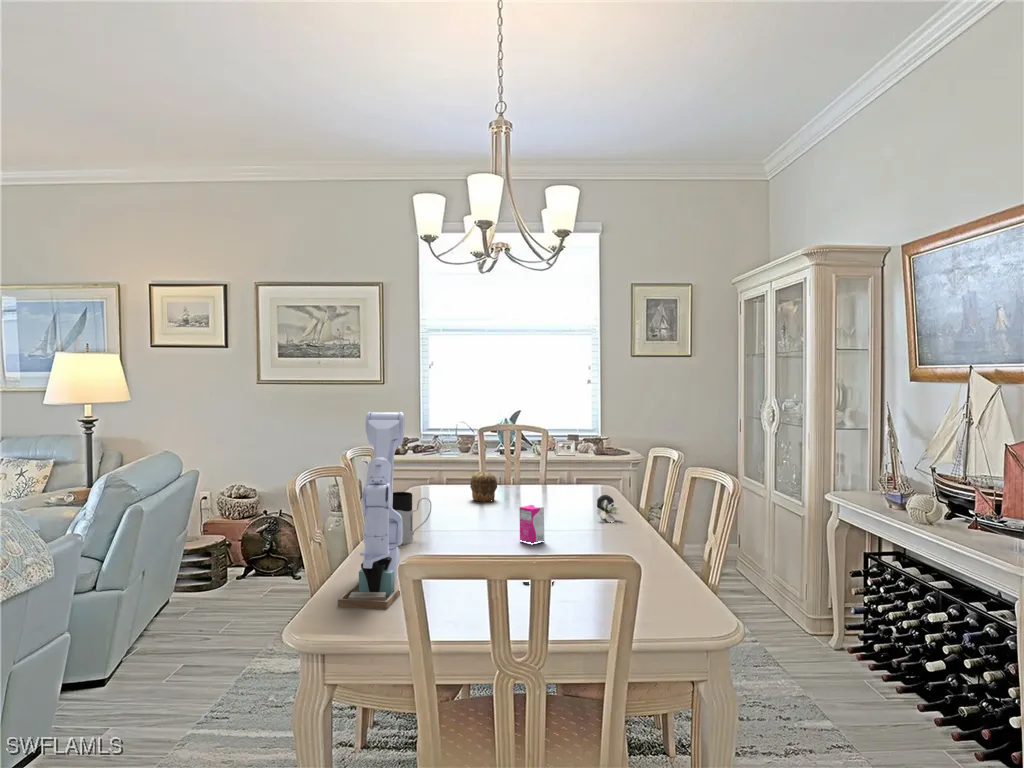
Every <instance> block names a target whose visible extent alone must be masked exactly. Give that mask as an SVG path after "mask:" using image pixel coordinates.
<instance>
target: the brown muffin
mask: <svg viewBox="0 0 1024 768" xmlns="http://www.w3.org/2000/svg"><path fill="white" fill-rule="evenodd" d="M469 487H470V489H471V492H472V493H471V497H472V500H473V501H475V500H476V501H475V502H477V501H491V500H495V497H496V496H495V495H496V490H497V488H498V481H497V478H496V476H495V475H494V474H493V472H487V471H484V472H483V471H476V472H474V473H473V474H472V476H471V479H470V486H469ZM491 502H492V501H491Z"/></svg>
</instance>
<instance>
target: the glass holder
mask: <svg viewBox="0 0 1024 768" xmlns="http://www.w3.org/2000/svg"><path fill="white" fill-rule="evenodd" d="M422 500H427V501H428V502H429V503H430V505H429V506H430V507H429V513H428V514H427V517H426V519H424V521H423V522H422V523H421V524H420V525H418V526H417V527H416V528H415V529H413V528H414V522H413V521H414V519H413V518H414V517H413V516H414V513H413V512H417V511H419V507H420V506H419V505H420V502H421V501H422ZM416 505H417V508H416V509H413V492H409V491H395V492H394V491H393V503H392V508H393V509H394V510H395V511H396V512H398V513H399V514H400V515H401V517H402V524H403V539H402V543H401V544H400V545H404V544H403V543H407V544H410V543H409V542H411V543H413V542H414V541H415V538H414V535H415V532H416V531H417V530H418V529H419V528H420V527H422V526H423V525H424V524H425V523H426V522H427V521H428V519H429V517H430V515H431V513H432V501H431V499H429V498H428V497H421V498H420V499H419V500H418V502H417V504H416ZM389 521H393V520H389ZM413 540H414V541H413ZM412 541H413V542H412Z"/></svg>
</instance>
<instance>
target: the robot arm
mask: <svg viewBox="0 0 1024 768" xmlns="http://www.w3.org/2000/svg"><path fill="white" fill-rule="evenodd" d="M365 433H366V437H367V441H368V444H369V445H371V446H372V447H373V459H372V460H370V461H369V463H368V465H367V473H366V482H365V486H363V488H362V492H361V493H362V494H361V500H362V501H361V502H362V508H363V509H362V510H363V516H364V525H363V531H362V532H363V533H362V536H363V537H362V539H363V544H364V550H361V551H360V552H359V556H363V560H362V563H361V564H360V568H361V569H362V570H363V572H364V574H365V576H366V579H367V583H368V588H369V591H370V592H379V590H380V584H381V577H382V573H383V570H394V580H398V579H397V566H398V564H399V563H400V564H401V553H400V552H401V551H400V548H399V547H398V546H401V545H402V544H401V543H402V539H403V524H402V517H401V515H400V514H399V513H398V512H396V511H395V510H394V509H393V508H392V503H393V492H394V472H395V471H394V467H395V466H394V464H395V453H396V450H397V448H398V447H400V446H402V445H403V444H404V439H405V438H404V437H405V414H404V412H403V411H400V412H377V411H376V412H372V411H368V412H367V413H366V415H365ZM389 520H393V521H389ZM361 569H360V570H361Z"/></svg>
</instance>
